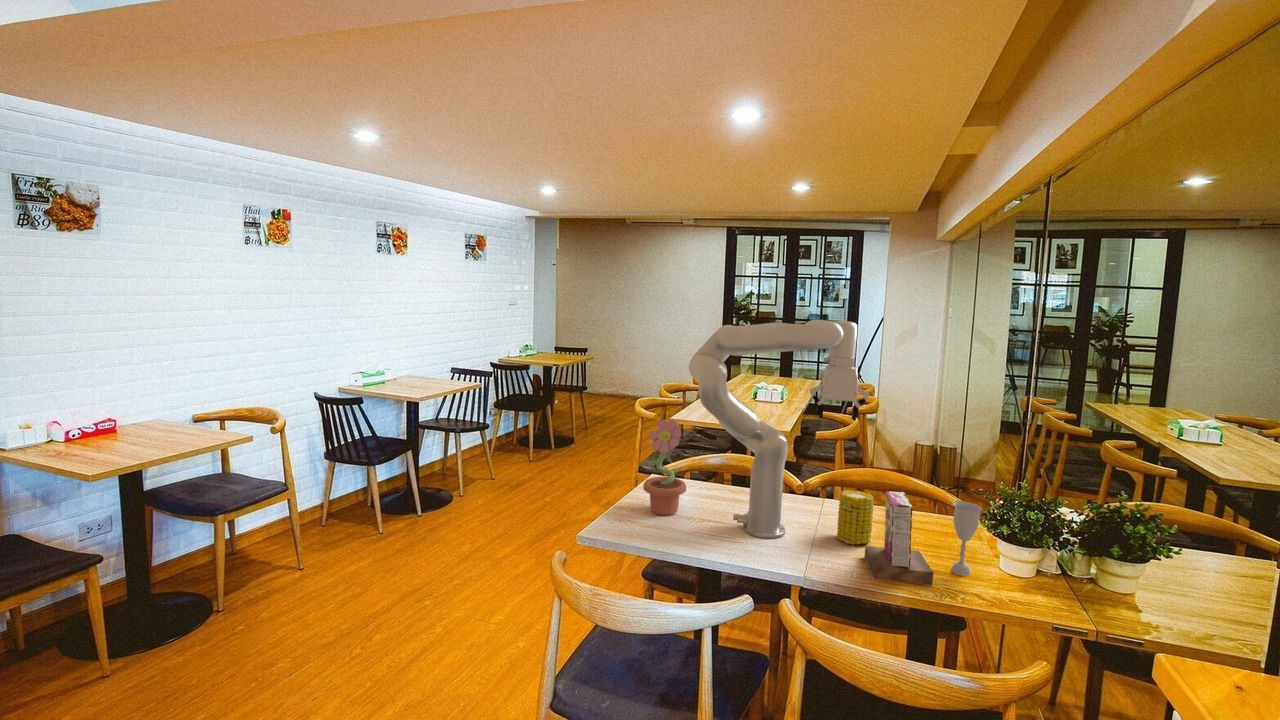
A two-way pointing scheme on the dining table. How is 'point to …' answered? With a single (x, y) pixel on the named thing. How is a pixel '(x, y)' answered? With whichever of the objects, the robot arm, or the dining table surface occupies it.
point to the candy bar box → (898, 529)
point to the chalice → (965, 531)
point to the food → (855, 517)
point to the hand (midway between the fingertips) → (837, 418)
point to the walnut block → (885, 571)
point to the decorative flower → (664, 471)
